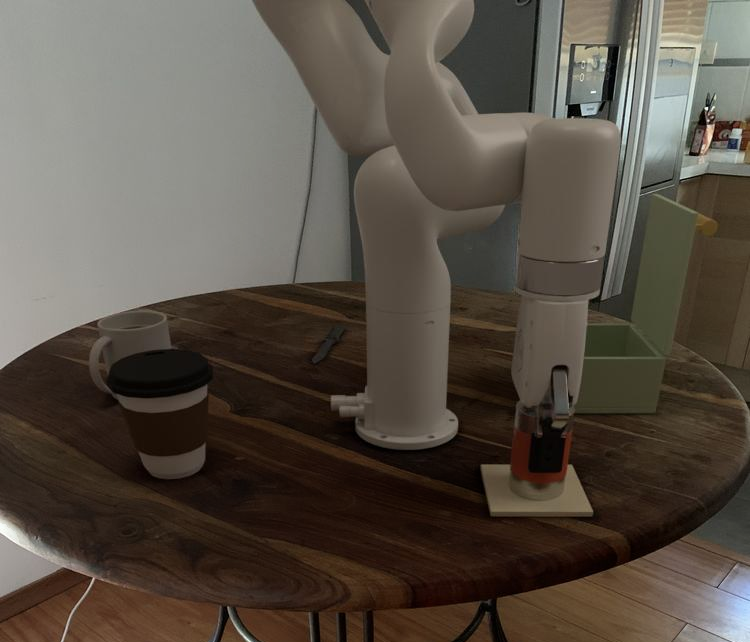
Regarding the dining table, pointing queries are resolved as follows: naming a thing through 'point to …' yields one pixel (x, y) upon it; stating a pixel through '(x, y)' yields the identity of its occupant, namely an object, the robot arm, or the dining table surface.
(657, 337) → the lid
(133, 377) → the coffee cup
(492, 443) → the dining table surface
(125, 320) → the mug
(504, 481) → the mat
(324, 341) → the knife
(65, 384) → the dining table surface
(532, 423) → the can
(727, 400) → the dining table surface
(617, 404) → the chest
